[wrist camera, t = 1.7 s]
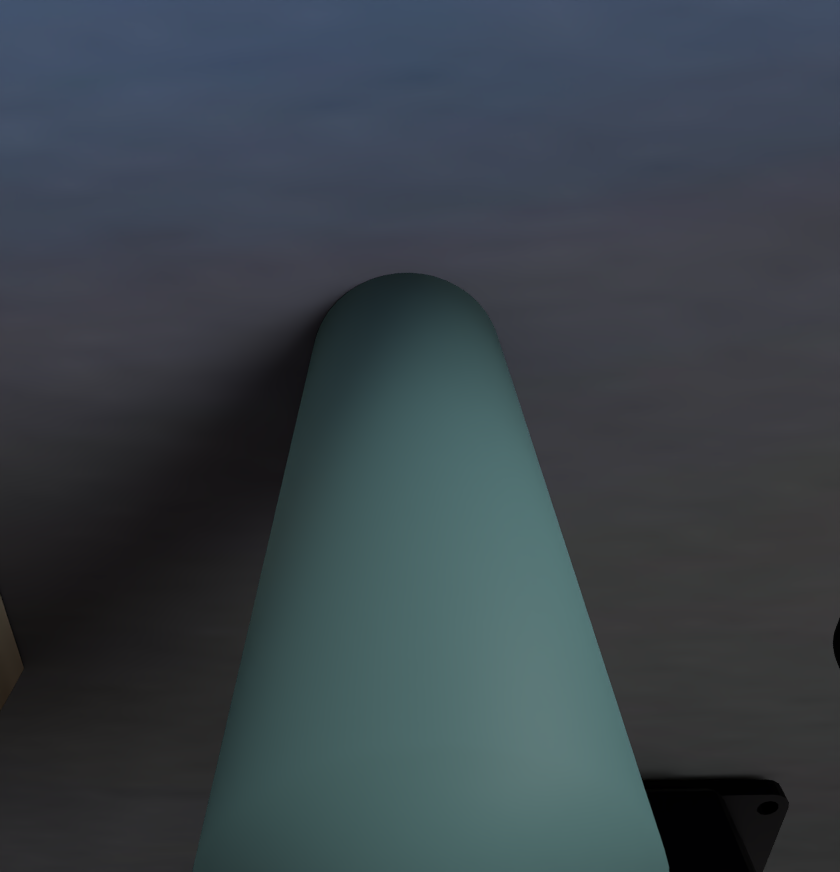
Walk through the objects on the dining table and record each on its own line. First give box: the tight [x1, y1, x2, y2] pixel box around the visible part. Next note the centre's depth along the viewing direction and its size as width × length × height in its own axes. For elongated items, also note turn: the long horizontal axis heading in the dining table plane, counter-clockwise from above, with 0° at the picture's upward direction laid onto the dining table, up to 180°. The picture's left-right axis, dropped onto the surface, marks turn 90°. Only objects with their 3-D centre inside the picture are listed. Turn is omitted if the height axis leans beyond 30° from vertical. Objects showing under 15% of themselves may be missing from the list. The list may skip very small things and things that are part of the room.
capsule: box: [192, 273, 669, 872], centre depth 9 cm, size 3×3×9 cm
